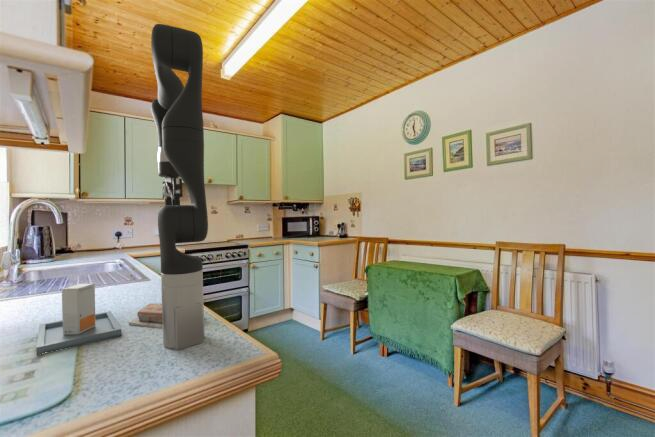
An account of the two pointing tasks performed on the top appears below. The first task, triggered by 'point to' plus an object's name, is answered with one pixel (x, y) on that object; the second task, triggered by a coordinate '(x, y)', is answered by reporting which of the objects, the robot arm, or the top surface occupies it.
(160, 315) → the packaged product
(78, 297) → the skincare box
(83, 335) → the tray
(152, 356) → the top surface
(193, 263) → the robot arm
